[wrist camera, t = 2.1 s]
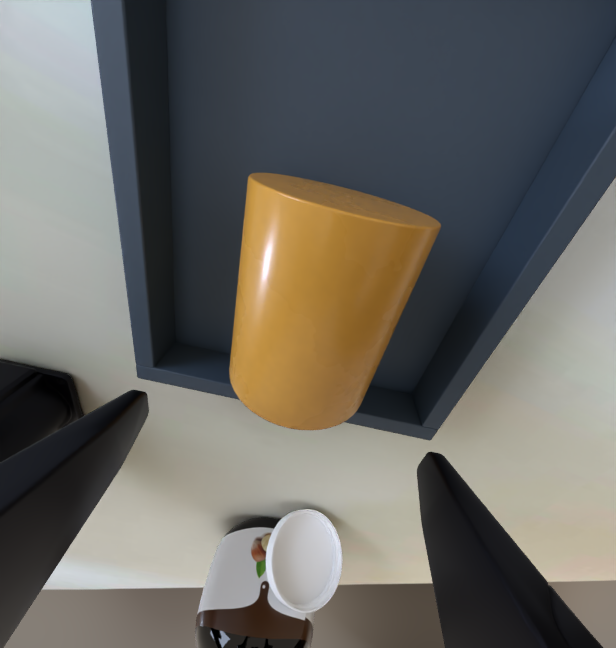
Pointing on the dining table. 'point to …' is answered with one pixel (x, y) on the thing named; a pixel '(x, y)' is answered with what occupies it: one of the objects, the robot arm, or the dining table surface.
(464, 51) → the blue tray
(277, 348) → the tapered yellow cylinder
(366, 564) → the dining table surface
